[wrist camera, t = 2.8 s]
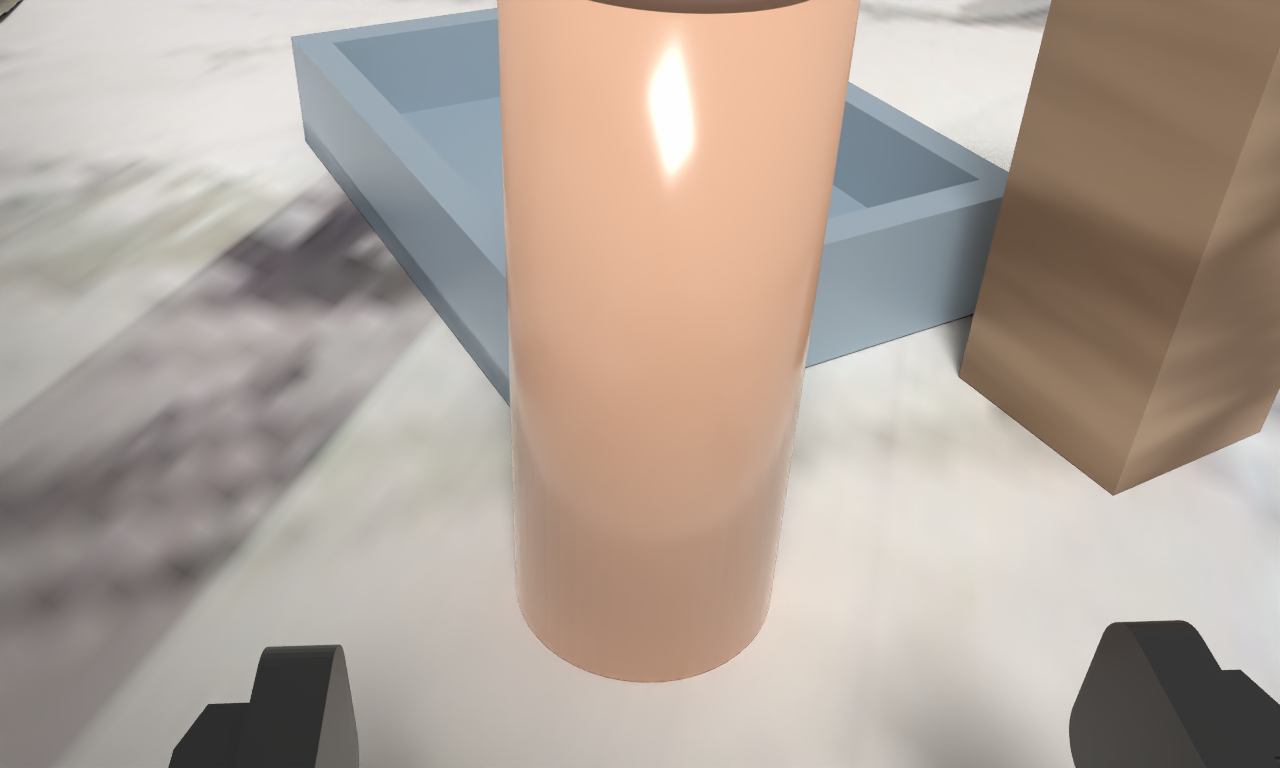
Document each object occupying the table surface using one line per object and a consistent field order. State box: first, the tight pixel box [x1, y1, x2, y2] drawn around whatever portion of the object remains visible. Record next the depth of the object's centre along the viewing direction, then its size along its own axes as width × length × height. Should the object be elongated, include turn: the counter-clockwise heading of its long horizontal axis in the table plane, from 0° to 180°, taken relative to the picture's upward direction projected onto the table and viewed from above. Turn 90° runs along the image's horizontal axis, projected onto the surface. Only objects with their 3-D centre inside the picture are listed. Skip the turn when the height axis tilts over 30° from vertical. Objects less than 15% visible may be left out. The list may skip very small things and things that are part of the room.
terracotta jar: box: [497, 0, 860, 682], centre depth 19 cm, size 5×5×13 cm
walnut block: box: [959, 0, 1280, 495], centre depth 25 cm, size 5×5×12 cm
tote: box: [291, 8, 1009, 406], centre depth 34 cm, size 14×18×4 cm
